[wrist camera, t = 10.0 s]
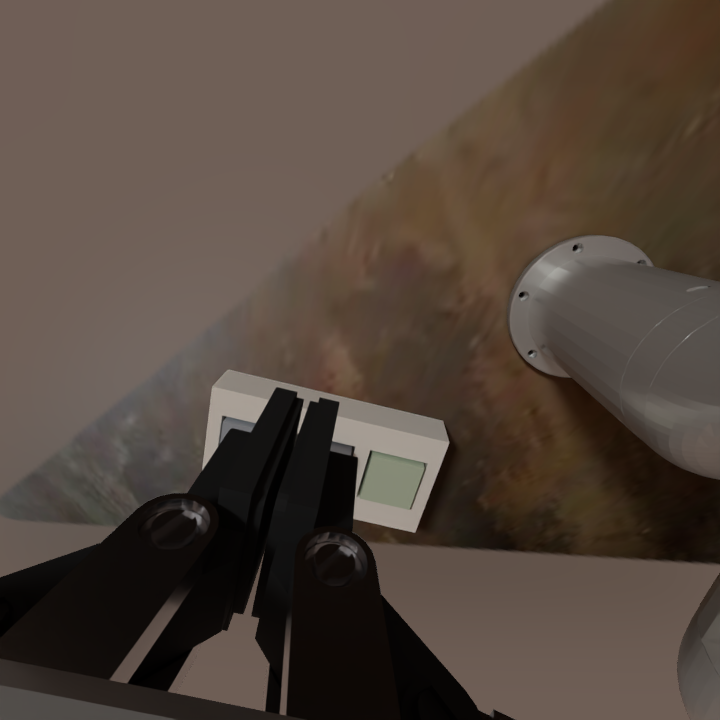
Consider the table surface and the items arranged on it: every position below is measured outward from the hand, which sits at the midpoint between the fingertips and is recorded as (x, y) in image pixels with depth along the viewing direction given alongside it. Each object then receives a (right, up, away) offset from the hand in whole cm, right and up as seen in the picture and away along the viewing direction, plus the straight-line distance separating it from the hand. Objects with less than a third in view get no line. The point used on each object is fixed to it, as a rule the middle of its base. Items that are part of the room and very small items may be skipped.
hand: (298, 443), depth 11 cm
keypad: (-2, -6, +32) cm, 32 cm away
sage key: (+5, -9, +31) cm, 32 cm away
